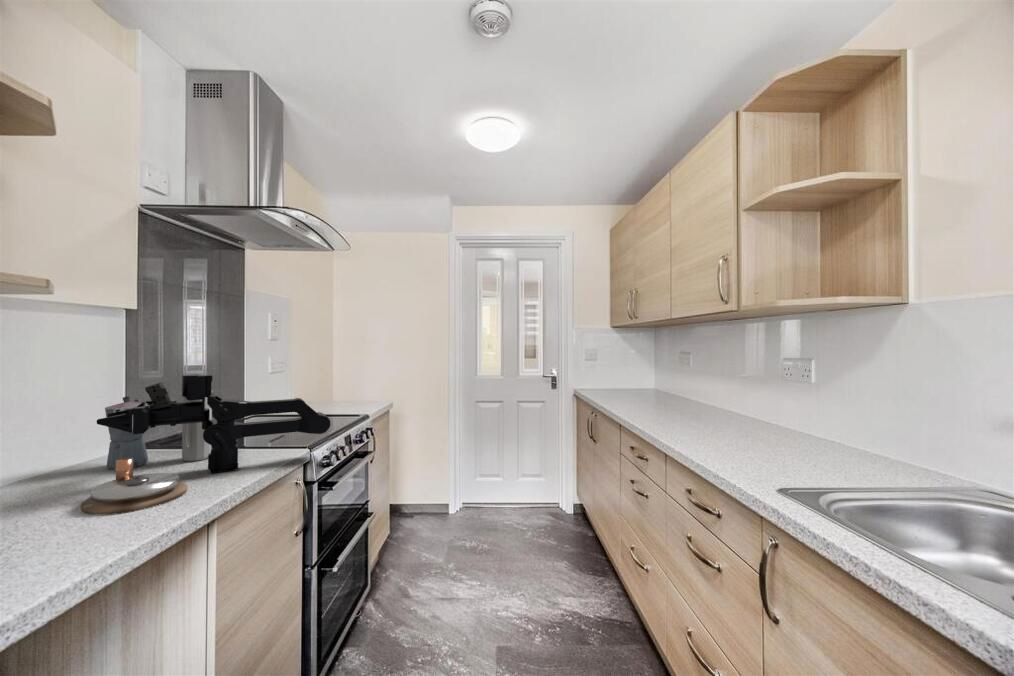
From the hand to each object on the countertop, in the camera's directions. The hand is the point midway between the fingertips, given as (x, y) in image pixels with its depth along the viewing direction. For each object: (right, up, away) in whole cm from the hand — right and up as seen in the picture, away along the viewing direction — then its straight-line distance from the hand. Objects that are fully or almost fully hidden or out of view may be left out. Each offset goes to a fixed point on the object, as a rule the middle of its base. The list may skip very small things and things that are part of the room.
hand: (102, 418), depth 104 cm
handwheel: (+16, -15, -9) cm, 24 cm away
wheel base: (+16, -17, -9) cm, 25 cm away
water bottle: (+6, -17, +23) cm, 29 cm away
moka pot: (-9, -17, +17) cm, 26 cm away
